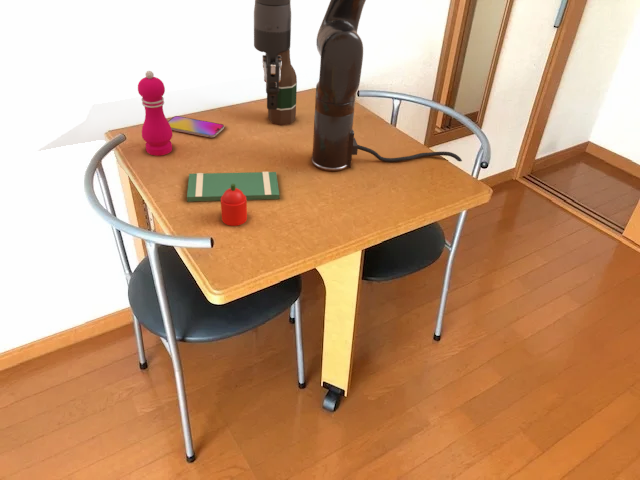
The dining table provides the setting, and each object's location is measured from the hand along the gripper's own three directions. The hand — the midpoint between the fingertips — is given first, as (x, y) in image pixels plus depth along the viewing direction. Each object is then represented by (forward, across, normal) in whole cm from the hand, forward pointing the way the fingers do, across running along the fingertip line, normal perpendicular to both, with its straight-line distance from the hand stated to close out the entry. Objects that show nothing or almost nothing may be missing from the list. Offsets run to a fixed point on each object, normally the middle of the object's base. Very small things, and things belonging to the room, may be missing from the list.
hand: (271, 100), depth 121 cm
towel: (+18, -8, +9) cm, 21 cm away
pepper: (+18, -20, +8) cm, 28 cm away
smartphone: (+18, +23, +20) cm, 35 cm away
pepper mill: (+18, +11, +27) cm, 34 cm away
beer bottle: (+18, +29, -4) cm, 34 cm away
